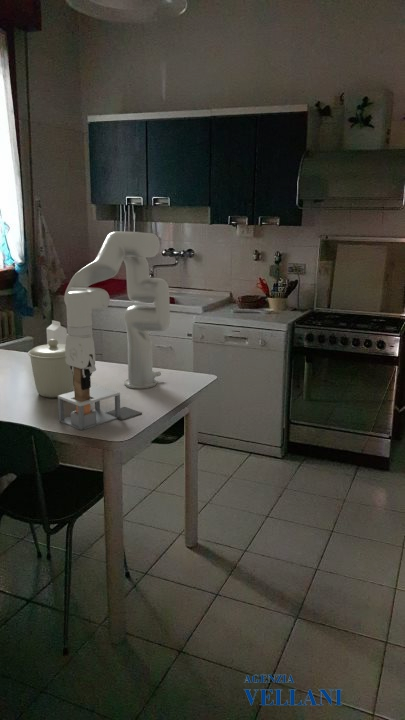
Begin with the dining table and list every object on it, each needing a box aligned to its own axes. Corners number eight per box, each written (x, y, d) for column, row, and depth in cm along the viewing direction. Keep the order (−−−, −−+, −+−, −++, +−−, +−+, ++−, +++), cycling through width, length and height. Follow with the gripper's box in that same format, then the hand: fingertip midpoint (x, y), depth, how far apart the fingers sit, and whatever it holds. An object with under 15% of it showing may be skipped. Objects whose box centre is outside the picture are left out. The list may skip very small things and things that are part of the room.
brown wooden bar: (83, 400, 190) (81, 358, 186) (90, 402, 187) (88, 360, 184) (74, 402, 187) (73, 360, 184) (81, 404, 185) (79, 362, 181)
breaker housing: (97, 409, 203) (96, 385, 201) (120, 417, 196) (119, 392, 193) (59, 421, 192) (57, 395, 189) (81, 430, 184) (80, 403, 182)
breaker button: (84, 412, 191) (83, 399, 190) (90, 414, 189) (90, 402, 188) (76, 414, 188) (75, 402, 187) (82, 416, 186) (81, 404, 185)
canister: (62, 404, 208) (60, 346, 203) (20, 398, 214) (16, 341, 209) (89, 389, 225) (87, 336, 219) (49, 384, 231) (46, 332, 225)
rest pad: (124, 407, 205) (124, 406, 205) (142, 413, 199) (142, 412, 199) (104, 414, 199) (104, 412, 199) (121, 420, 193) (121, 419, 193)
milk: (56, 375, 244) (53, 323, 238) (48, 372, 248) (45, 321, 242) (69, 372, 248) (66, 321, 242) (60, 369, 252) (57, 319, 246)
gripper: (54, 328, 184) (57, 384, 189) (86, 336, 174) (88, 395, 178) (73, 325, 190) (76, 379, 194) (106, 333, 179) (108, 390, 184)
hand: (82, 386), depth 186 cm, fingers closed on brown wooden bar, 3 cm apart
